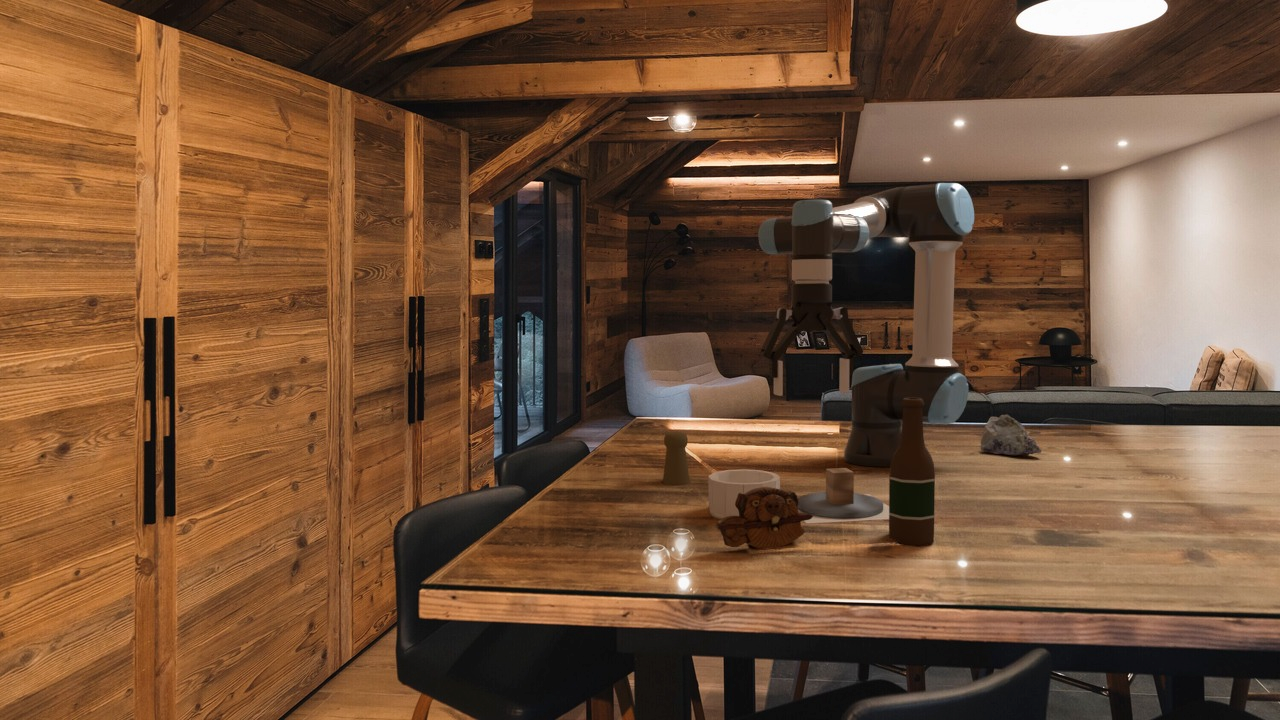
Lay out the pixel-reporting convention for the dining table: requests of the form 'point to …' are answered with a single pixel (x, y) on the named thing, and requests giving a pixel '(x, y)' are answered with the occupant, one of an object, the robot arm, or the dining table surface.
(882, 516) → the mat
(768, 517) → the wooden carving
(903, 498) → the beer bottle
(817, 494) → the lid
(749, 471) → the bowl
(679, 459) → the cork
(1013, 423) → the mineral rock
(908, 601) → the dining table surface
